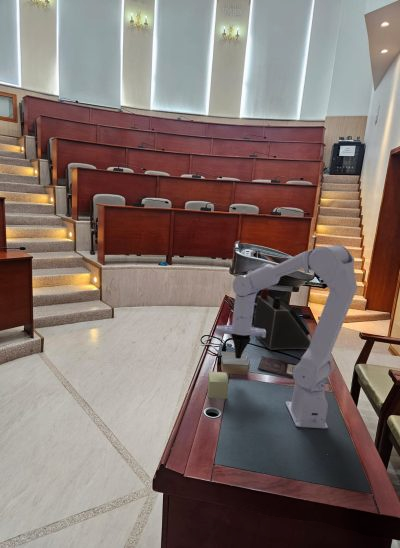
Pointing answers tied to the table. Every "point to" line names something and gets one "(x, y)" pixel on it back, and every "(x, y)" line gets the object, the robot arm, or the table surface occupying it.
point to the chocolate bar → (276, 366)
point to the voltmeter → (279, 324)
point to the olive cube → (217, 385)
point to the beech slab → (234, 363)
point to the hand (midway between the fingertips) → (237, 356)
